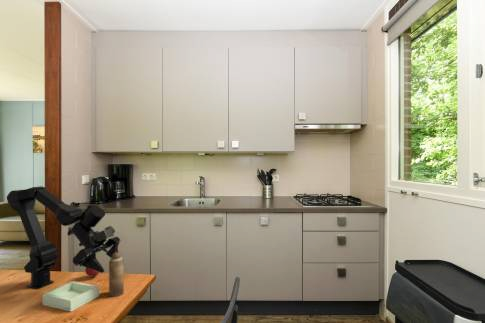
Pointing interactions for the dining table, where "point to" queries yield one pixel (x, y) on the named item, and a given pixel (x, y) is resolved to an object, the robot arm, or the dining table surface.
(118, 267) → the pepper mill
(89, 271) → the pomegranate
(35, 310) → the dining table surface
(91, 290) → the serving tray
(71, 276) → the dining table surface
